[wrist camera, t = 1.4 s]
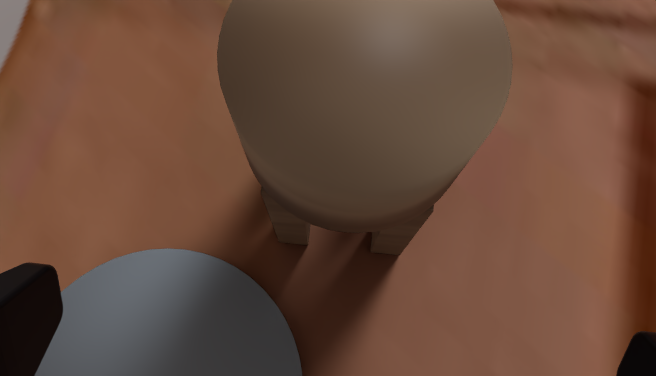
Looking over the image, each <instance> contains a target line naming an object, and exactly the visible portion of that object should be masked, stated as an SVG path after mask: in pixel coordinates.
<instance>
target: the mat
mask: <svg viewBox="0 0 656 376" xmlns="http://www.w3.org/2000/svg"><path fill="white" fill-rule="evenodd" d="M61 297H62V302H63V315H62V319H61V322H60V324H59V326H58V328H57V330H56V332H55V334H54V336H53V339H52V341H51V343H50V345H49V347H48V349H47V351H46V353H45V355H44V357H43V359H42V361H41V364H40V366H39V368H38V370H37V372H36V374H35V376H302V369H301V363H300V357H299V353H298V350H297V347H296V343H295V340H294V337H293V335H292V332H291V330H290V328H289V326H288V324H287V321H286V319H285V318H284V316H283V315H282V313H281V311H280V310H279V308H278V307H277V305H276V304H275V303H274V301H273V300H272V299H271V298H270V296H269V295H268V294H267V293H266V292H265V290H264V289H263V288H261V287H260V286H259V285H258V284H257V283H256V282H255V281H254V280H253V279H252V278H251V277H249V276H248V275H246V274H245V273H244V272H242V271H241V270H239V269H238V268H236V267H235V266H233V265H231V264H229V263H227V262H225V261H223V260H221V259H218V258H215V257H213V256H210V255H207V254H204V253H199V252H194V251H190V250H182V249H153V250H146V251H140V252H135V253H131V254H128V255H125V256H121V257H118V258H115V259H113V260H111V261H108V262H106V263H104V264H102V265H100V266H97V267H96V268H94V269H92V270H91V271H89V272H87V273H86V274H84V275H83V276H81V277H80V278H78V279H77V280H76V281H74V282H73V283H72V284H71V285H69V286H68V287H67V288H65V289H64V290H63V291H62V292H61Z"/></svg>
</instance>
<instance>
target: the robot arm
mask: <svg viewBox="0 0 656 376" xmlns="http://www.w3.org/2000/svg"><path fill="white" fill-rule="evenodd" d="M62 315H63V302H62V297H61V291H60V286H59V280H58V275H57V272H56V270H55V268H54V267H53V266H51V265H47V264H39V263H24V264H21V265H19V266H17V267H14V268H12V269H10V270H8V271H5V272H3V273H1V274H0V376H35V374H36V372H37V370H38V368H39V366H40V364H41V361H42V359H43V357H44V355H45V353H46V351H47V349H48V347H49V345H50V343H51V341H52V339H53V336H54V334H55V332H56V330H57V328H58V326H59V324H60V322H61V319H62ZM617 376H656V333H655V332H646V331H640V332H637V333H636V334H635V335H634V336H633V337H632V339H631V341H630V343H629V345H628V348H627V350H626V352H625V354H624V356H623V358H622V361H621V363H620V365H619V367H618V370H617Z"/></svg>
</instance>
